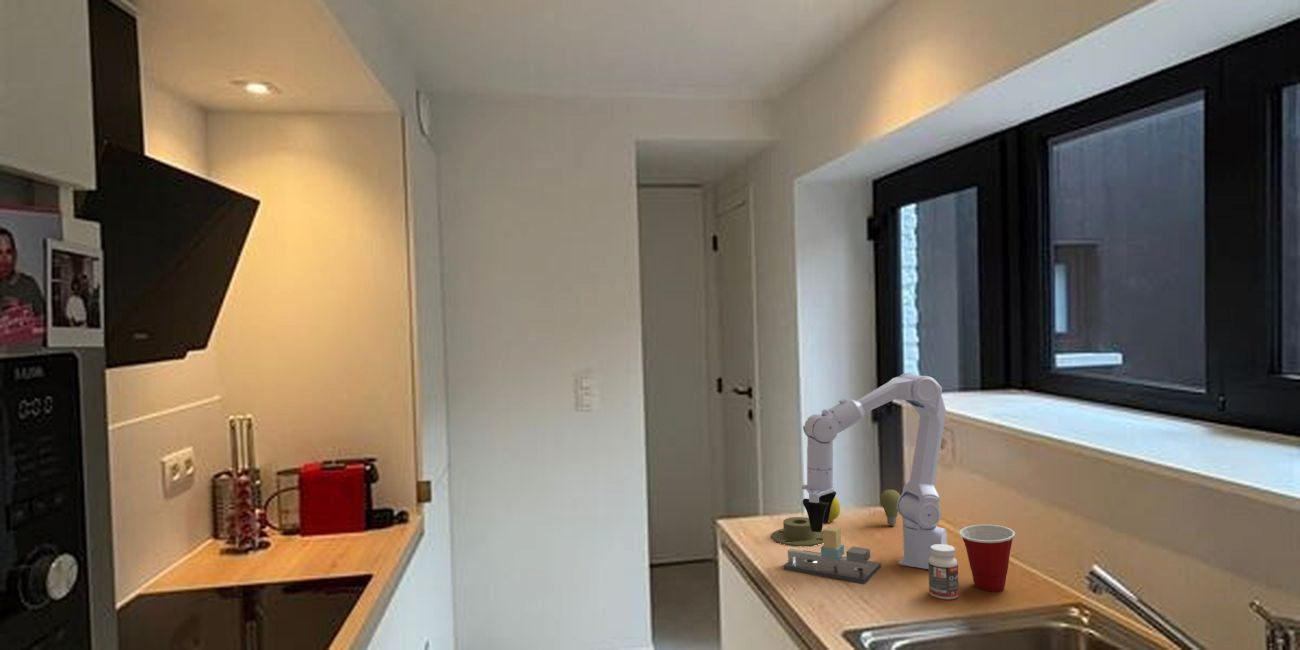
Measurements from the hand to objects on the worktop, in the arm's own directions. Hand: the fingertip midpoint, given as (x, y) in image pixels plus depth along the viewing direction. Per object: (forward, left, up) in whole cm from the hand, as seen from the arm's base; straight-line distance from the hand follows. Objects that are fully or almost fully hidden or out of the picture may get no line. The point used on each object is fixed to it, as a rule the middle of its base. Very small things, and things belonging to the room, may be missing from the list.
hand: (819, 527), depth 166 cm
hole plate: (-1, -4, -10) cm, 11 cm away
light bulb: (-4, -43, -11) cm, 44 cm away
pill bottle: (-27, 0, -11) cm, 29 cm away
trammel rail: (-1, -2, -9) cm, 10 cm away
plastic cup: (-34, -9, -11) cm, 36 cm away
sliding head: (-2, -2, -9) cm, 9 cm away
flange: (+14, -22, -11) cm, 28 cm away
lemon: (+12, -39, -11) cm, 42 cm away
